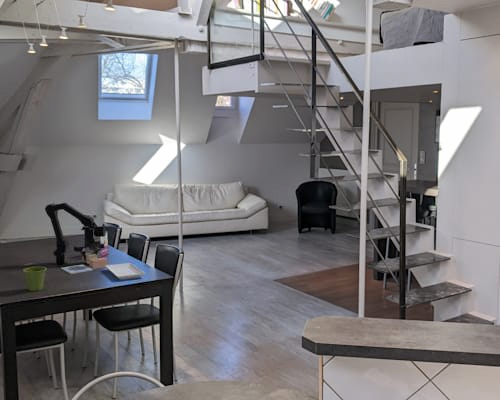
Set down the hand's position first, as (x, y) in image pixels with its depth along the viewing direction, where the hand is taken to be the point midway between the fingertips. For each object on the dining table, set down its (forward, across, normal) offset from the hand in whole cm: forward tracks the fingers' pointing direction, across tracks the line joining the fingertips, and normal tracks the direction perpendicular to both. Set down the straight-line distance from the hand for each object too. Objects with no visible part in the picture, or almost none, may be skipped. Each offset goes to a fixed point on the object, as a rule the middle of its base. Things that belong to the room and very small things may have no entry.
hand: (89, 260), depth 358 cm
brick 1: (+1, 0, 0) cm, 1 cm away
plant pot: (+2, -47, -40) cm, 62 cm away
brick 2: (+2, +1, -12) cm, 12 cm away
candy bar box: (+2, +15, +16) cm, 22 cm away
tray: (+3, +5, -40) cm, 40 cm away
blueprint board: (+2, -13, -11) cm, 17 cm away
